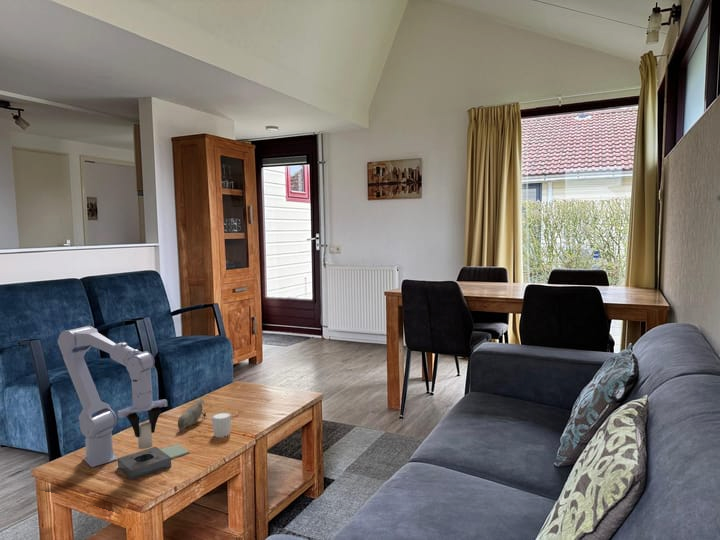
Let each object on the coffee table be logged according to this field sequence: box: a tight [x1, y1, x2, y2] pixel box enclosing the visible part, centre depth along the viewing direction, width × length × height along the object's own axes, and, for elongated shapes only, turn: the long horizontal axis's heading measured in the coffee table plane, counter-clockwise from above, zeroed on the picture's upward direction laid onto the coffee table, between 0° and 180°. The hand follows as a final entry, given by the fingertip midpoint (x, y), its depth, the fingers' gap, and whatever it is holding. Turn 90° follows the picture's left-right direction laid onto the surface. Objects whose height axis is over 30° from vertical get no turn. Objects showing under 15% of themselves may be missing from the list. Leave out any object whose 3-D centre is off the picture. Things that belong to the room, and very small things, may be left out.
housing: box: [117, 446, 172, 481], centre depth 158 cm, size 12×12×3 cm
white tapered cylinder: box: [211, 412, 232, 438], centre depth 183 cm, size 7×7×7 cm
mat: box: [159, 443, 191, 460], centre depth 168 cm, size 9×7×1 cm
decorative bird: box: [177, 399, 207, 433], centre depth 194 cm, size 5×16×7 cm, turn 168°
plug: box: [137, 421, 153, 450], centre depth 158 cm, size 4×4×7 cm
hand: (144, 434), depth 158 cm, fingers closed on plug, 4 cm apart
